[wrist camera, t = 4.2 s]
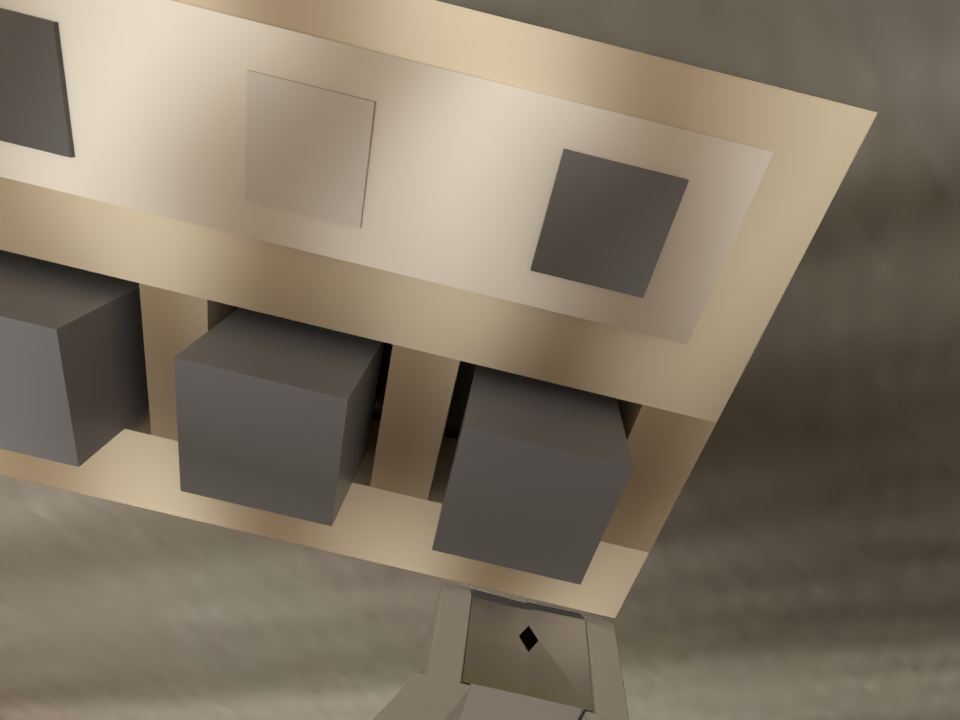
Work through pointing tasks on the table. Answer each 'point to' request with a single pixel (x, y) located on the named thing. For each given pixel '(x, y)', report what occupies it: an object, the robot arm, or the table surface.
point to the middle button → (275, 414)
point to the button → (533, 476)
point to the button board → (414, 231)
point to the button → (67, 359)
